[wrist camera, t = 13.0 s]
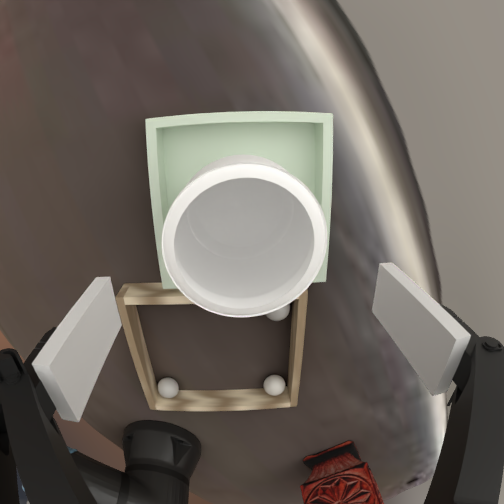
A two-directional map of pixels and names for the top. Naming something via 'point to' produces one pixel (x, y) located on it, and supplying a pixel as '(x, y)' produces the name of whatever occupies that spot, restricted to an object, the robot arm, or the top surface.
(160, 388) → the white ball
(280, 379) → the pebble
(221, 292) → the jar
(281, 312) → the pebble
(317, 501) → the vase
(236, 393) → the bin
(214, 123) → the bin
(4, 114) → the top surface
